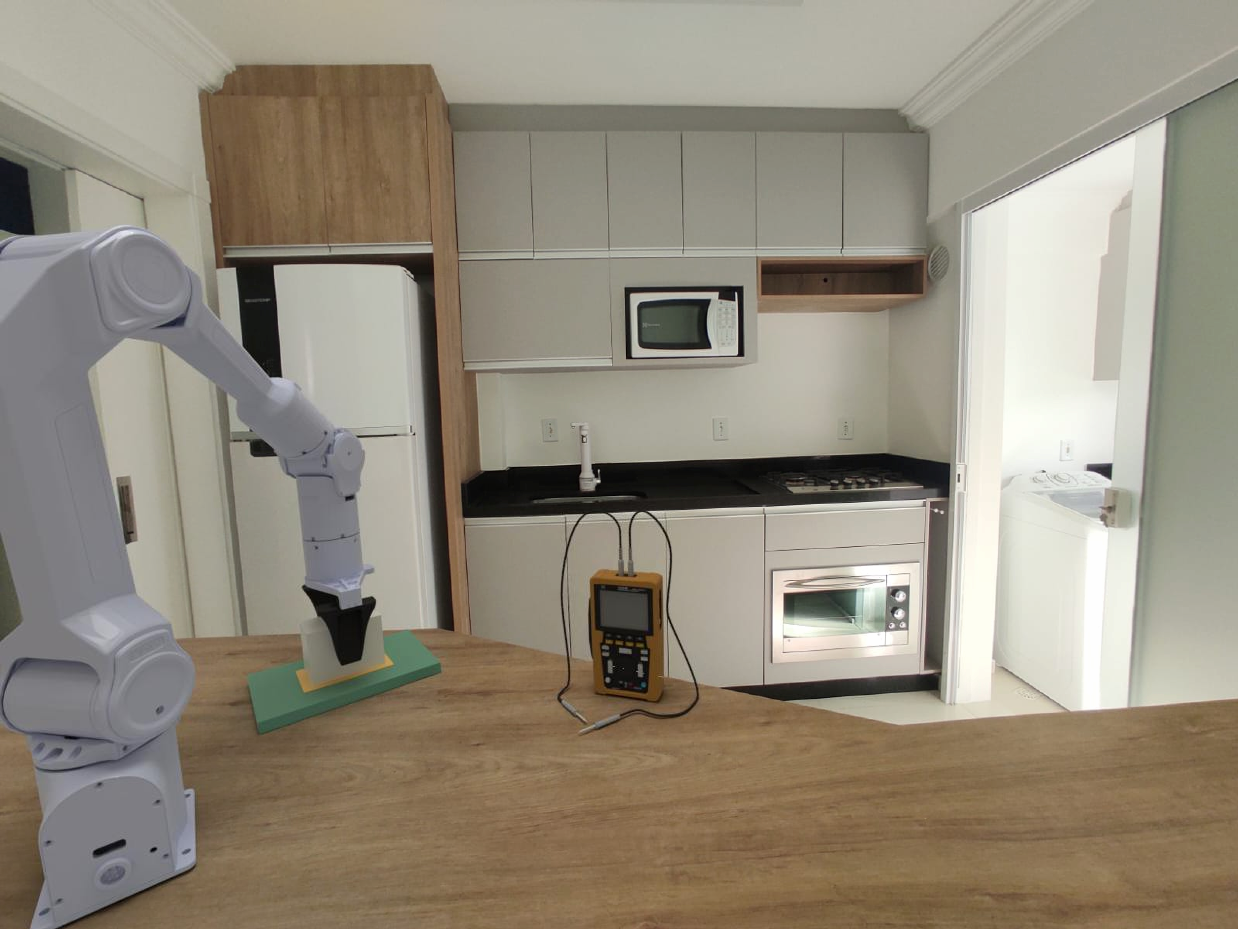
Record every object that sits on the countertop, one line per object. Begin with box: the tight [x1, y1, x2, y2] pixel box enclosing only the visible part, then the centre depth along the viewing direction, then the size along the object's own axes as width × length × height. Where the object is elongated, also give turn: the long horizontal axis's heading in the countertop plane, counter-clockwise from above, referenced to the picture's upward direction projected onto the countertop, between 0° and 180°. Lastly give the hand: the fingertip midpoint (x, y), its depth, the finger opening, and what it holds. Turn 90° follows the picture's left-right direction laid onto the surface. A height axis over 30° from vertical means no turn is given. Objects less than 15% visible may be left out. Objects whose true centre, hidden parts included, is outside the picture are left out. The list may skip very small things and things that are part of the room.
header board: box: [246, 629, 442, 735], centre depth 63 cm, size 12×18×4 cm, turn 128°
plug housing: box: [299, 607, 385, 687], centre depth 62 cm, size 4×8×6 cm, turn 129°
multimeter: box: [556, 509, 700, 734], centre depth 54 cm, size 15×10×20 cm
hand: (343, 649), depth 62 cm, fingers open, 7 cm apart
